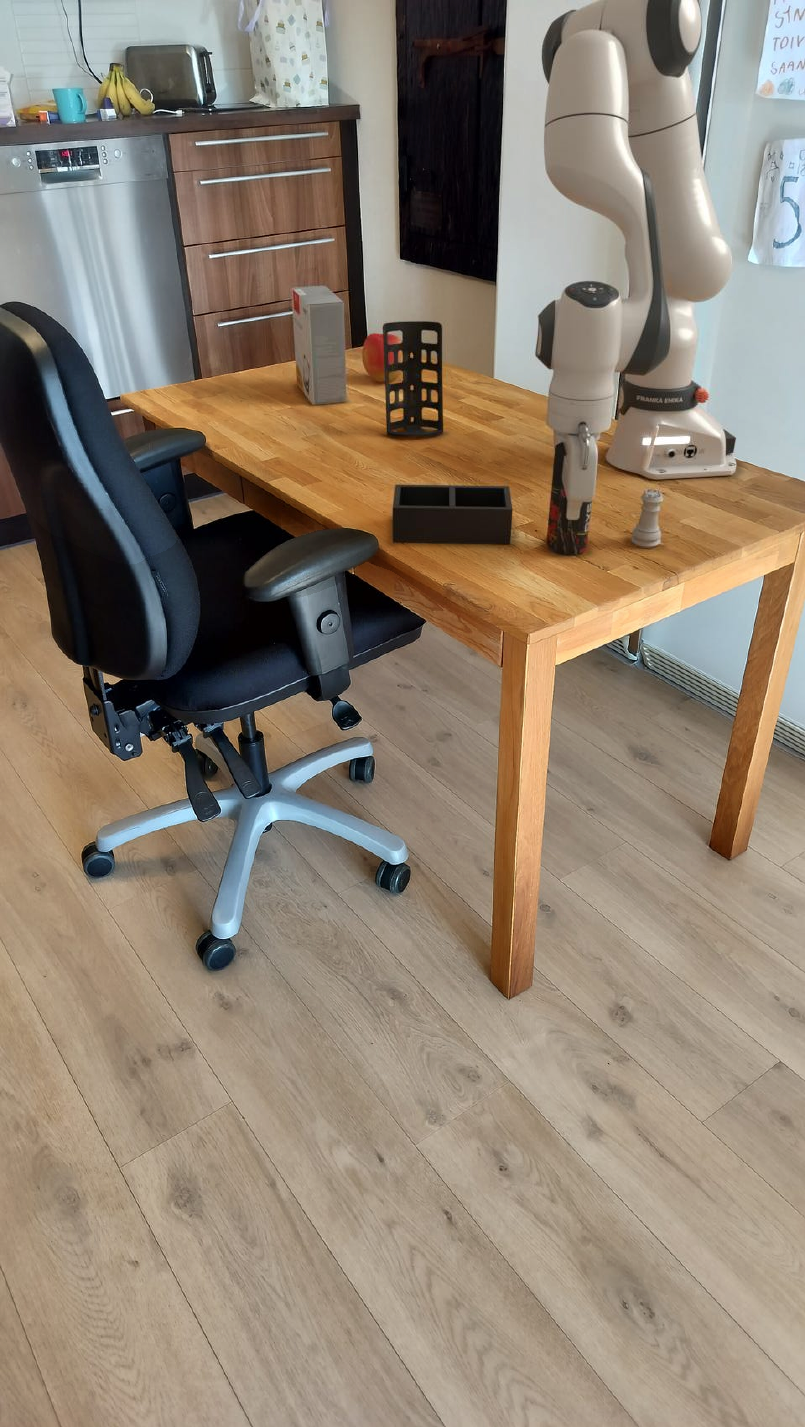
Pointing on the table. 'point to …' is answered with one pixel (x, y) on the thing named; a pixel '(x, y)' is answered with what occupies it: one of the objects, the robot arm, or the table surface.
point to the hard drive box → (319, 344)
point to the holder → (413, 379)
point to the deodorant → (561, 531)
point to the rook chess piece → (648, 521)
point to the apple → (379, 356)
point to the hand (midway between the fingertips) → (569, 507)
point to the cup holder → (452, 514)
